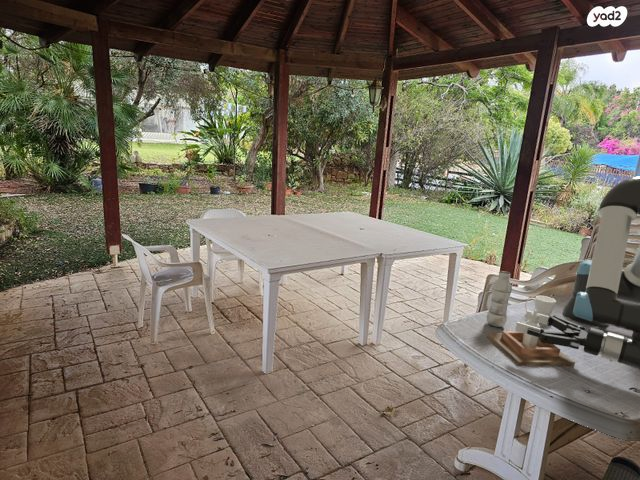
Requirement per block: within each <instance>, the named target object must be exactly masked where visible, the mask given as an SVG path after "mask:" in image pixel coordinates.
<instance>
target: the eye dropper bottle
mask: <svg viewBox="0 0 640 480" xmlns="http://www.w3.org/2000/svg"><path fill="white" fill-rule="evenodd" d="M533 312H534V313H531V315H530V320H529V319H527V320H526V322H525V324H527V325H530V326H534V327H537V328H540V329H541V326H540V323H539V322H538V320H539V315H538V314H537V310H534V311H533ZM537 342H538V337H534V336H531V335H528V334H525V333H524V336H523V341H522V344H523V345H524V346H525V347H537Z"/></svg>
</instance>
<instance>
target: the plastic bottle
mask: <svg viewBox="0 0 640 480" xmlns="http://www.w3.org/2000/svg"><path fill="white" fill-rule="evenodd" d="M497 277H498V278H497V279H495V281H493V283H492V284H491V298H490V299H491V300H490V306H489V309H488V312H487V314H486V318H485V319H486V322H487V324H488V325H490V326H493V327H495V328H496V327H497V328H502V327H504V326H505V325H506V323H507V320H508V317H507V310H508V305H509V304H508V303H509V300H510V296H511V293H512V291H513V286H512V284H511V281H510V279H511V273H510V272H509V271H505V270H504V271H503V270H500V271H498V275H497Z"/></svg>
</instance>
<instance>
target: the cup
mask: <svg viewBox="0 0 640 480" xmlns="http://www.w3.org/2000/svg"><path fill="white" fill-rule="evenodd" d="M530 300H533V301H535V308H534V309H535V310H537V313H539V314H543V315H546V316H549V317H550V316H552V313H553V312H554V311H553V310H554V308H555V306H556V303H557V300H556V299H555V298H553V297H549V296H546V295H540V294H539V295H536V296H535V297H530V298H528V299H526V301H525V303H524V308H525V310H526V311H527V310H528V311H530V310H529V308H527V304H528V302H529V301H530Z"/></svg>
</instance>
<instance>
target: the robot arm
mask: <svg viewBox="0 0 640 480" xmlns="http://www.w3.org/2000/svg"><path fill="white" fill-rule="evenodd" d="M605 194H606V195H605V196H604V197H603V198H602V200H601V202H600V203H599V208H598V213H597V214H598V216H599V218H600V221H599V225H598V226H599V227H598V232H597V236H596V240H595V245H594V249H593V253H592V259H587V260H583V261H581V262H580V263H579V265H578V267H577V271H576V276H575V282H574V284H573V289H572V293H571V296H570V298H569V299H568V301H567V303H566V304H565V305H564V306H563V310H562V315H563V316H565V317H566V318H567V319H569V320H567V319H565V318H562V317H561V316H558V315H555V314H553V315H550V317H549V316H546V315H543V314H539V313H537V314H538V315H539V320H538V323H539V324H543V325H546V326H548V327H553V328H555V329H557V330H559V331H554V330H545V329H544V328H543V327H540V328H537V327H534V326H530V325H527V324H526V323H524V322H523V323H522V322H519V321H516V325H515V329H514V330H515V331H518V332H522V333H525V334H528V335H531V336H534V337H538V338H539V339H540V342H542V343H548V344H554V345H555V346H561V347H566V348H571V349H574V350H579V348H580V346H581V347H582V346H583V352H584V353H587V354H590V355H594V356H596V357H597V356H599V355H600V357H601V358H603V359H606V360H609V361H610V363H611V362H616V363H619V364H623V365H625V366H629V367H632V368H635V369H637V370H640V244H639V245H638V248H637V251H636V253H635V255H634V259H633V261H632V263H629V264H627V265H626V266H625V268H623V267H624V261H625V257H626V252H627V246H628V241H629V235H630V230H631V226H632V225H631V224H632V222H633V221H634V220H636V219H637V217H638V216H639V215H640V175H637V176H633V177H629V178H626V179H624V180H622V181H620V182H619V183H617V184H616V185H614V186H613V187H612V188H610V190H609V191H607V193H605ZM637 215H638V216H637ZM528 310H529V309H528ZM528 310H526V312H525V317H524V319H526V320H530V315H531V313H534V311H531V310H529V311H528ZM570 320H571V321H570ZM572 321H573V322H572ZM575 322H576V323H575ZM577 323H580V324H583V325H580V324H577ZM584 325H587V326H590V327H589V328H588V329H587V330H588V331H586V326H584ZM591 326H592V327H591ZM593 326H594V327H593ZM605 326H612V327H614V328H618V329H623V330H626V331H631V332H632V334H631V337H628V336H625V335H622V334H617V333H614V332H611V331H607V332H605V331H604V330H602V329H600V328H596V327H605Z"/></svg>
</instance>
